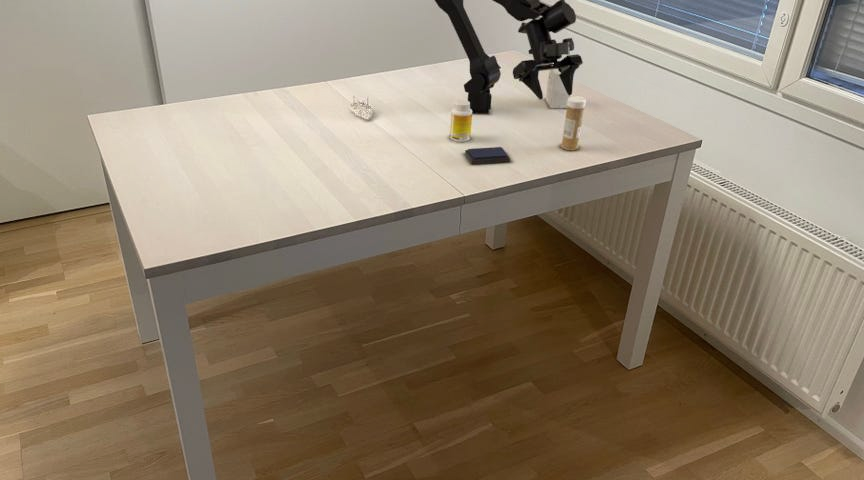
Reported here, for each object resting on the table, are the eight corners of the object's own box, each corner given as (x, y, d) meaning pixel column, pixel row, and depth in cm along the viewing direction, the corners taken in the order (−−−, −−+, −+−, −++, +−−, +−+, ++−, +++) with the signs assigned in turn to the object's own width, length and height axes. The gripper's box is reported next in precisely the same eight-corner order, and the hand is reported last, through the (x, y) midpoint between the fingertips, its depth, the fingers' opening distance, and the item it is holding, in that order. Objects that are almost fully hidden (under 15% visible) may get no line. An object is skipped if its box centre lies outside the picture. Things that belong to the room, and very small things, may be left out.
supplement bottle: (473, 141, 194) (476, 104, 189) (455, 143, 193) (457, 107, 187) (464, 133, 199) (467, 97, 193) (446, 136, 197) (448, 100, 191)
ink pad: (471, 164, 182) (471, 158, 181) (464, 154, 187) (465, 148, 186) (509, 162, 183) (510, 156, 182) (501, 151, 189) (502, 145, 188)
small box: (568, 108, 215) (573, 74, 209) (549, 108, 215) (554, 73, 209) (563, 99, 222) (568, 65, 216) (545, 99, 222) (549, 65, 216)
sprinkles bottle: (581, 149, 190) (589, 100, 183) (566, 151, 189) (573, 102, 181) (572, 143, 194) (580, 94, 186) (557, 145, 192) (564, 96, 185)
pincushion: (377, 120, 206) (377, 101, 203) (356, 122, 205) (356, 103, 202) (364, 105, 216) (364, 87, 213) (345, 107, 214) (344, 89, 211)
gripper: (526, 30, 180) (542, 88, 179) (586, 24, 187) (603, 80, 186) (504, 50, 191) (520, 105, 190) (562, 43, 197) (578, 97, 196)
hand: (556, 97), depth 190 cm, fingers open, 9 cm apart
